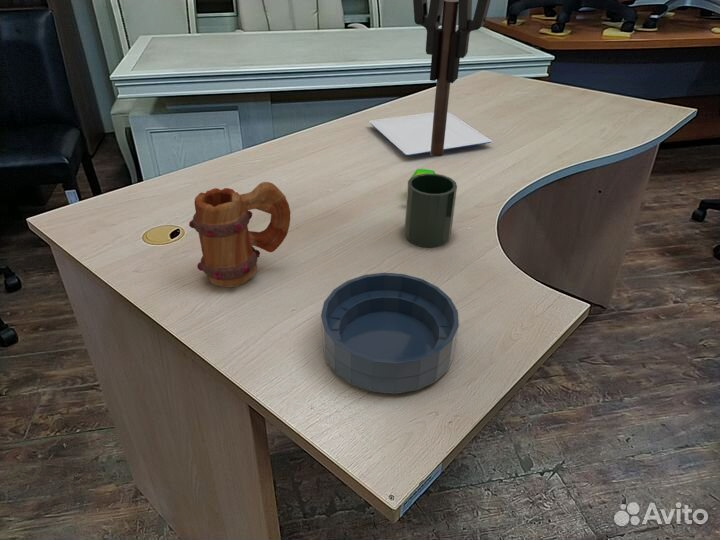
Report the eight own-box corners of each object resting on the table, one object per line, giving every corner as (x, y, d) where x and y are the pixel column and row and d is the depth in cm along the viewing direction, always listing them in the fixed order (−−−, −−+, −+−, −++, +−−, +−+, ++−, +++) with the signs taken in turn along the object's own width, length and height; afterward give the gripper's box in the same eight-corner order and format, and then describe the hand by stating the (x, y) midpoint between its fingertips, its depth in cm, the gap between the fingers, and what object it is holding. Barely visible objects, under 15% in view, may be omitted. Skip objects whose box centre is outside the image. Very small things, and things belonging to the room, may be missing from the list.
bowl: (467, 325, 74) (473, 292, 70) (429, 416, 61) (434, 381, 57) (355, 293, 79) (355, 261, 76) (299, 371, 67) (296, 336, 63)
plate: (491, 148, 124) (493, 140, 123) (405, 162, 118) (406, 153, 116) (445, 117, 141) (446, 109, 140) (368, 127, 135) (368, 120, 133)
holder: (455, 229, 95) (462, 178, 89) (442, 252, 89) (448, 199, 83) (413, 220, 97) (417, 170, 91) (398, 241, 91) (401, 189, 85)
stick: (444, 153, 84) (460, 0, 71) (440, 157, 83) (456, 2, 70) (432, 151, 85) (446, -1, 72) (428, 155, 83) (441, 1, 71)
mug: (202, 298, 78) (184, 209, 69) (198, 268, 84) (180, 183, 76) (299, 281, 82) (293, 194, 73) (288, 253, 88) (281, 170, 79)
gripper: (393, -122, 63) (386, 79, 77) (520, -123, 58) (489, 93, 72) (414, -121, 69) (404, 67, 82) (531, -121, 64) (500, 78, 77)
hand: (443, 79), depth 77 cm, fingers closed on stick, 2 cm apart
